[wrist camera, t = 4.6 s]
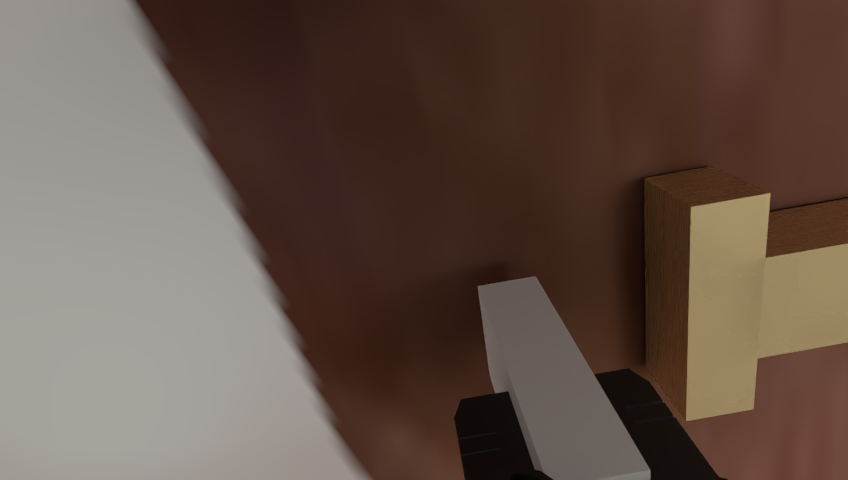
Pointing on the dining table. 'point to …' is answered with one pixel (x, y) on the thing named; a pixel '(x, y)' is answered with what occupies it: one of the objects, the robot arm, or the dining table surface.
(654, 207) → the t-shaped block
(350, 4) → the dining table surface
